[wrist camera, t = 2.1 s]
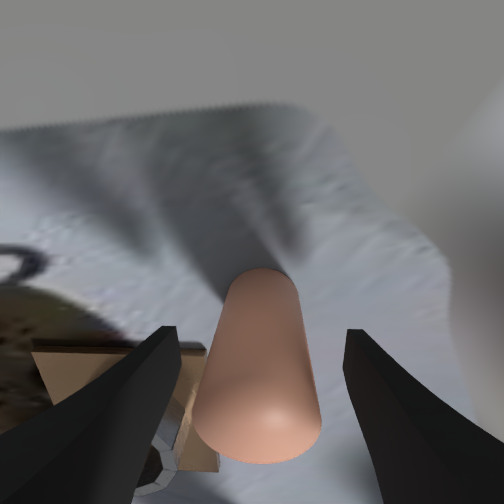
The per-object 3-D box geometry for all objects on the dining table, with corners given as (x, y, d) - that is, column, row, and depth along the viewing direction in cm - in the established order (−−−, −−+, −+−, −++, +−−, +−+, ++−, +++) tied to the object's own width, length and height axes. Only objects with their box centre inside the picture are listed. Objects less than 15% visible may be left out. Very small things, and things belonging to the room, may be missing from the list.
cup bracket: (220, 463, 20) (211, 516, 17) (84, 455, 21) (54, 504, 18) (206, 349, 16) (192, 393, 13) (39, 345, 17) (-9, 385, 14)
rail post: (297, 330, 15) (317, 467, 9) (229, 329, 15) (198, 460, 9) (300, 268, 14) (326, 375, 7) (224, 268, 14) (184, 370, 7)
